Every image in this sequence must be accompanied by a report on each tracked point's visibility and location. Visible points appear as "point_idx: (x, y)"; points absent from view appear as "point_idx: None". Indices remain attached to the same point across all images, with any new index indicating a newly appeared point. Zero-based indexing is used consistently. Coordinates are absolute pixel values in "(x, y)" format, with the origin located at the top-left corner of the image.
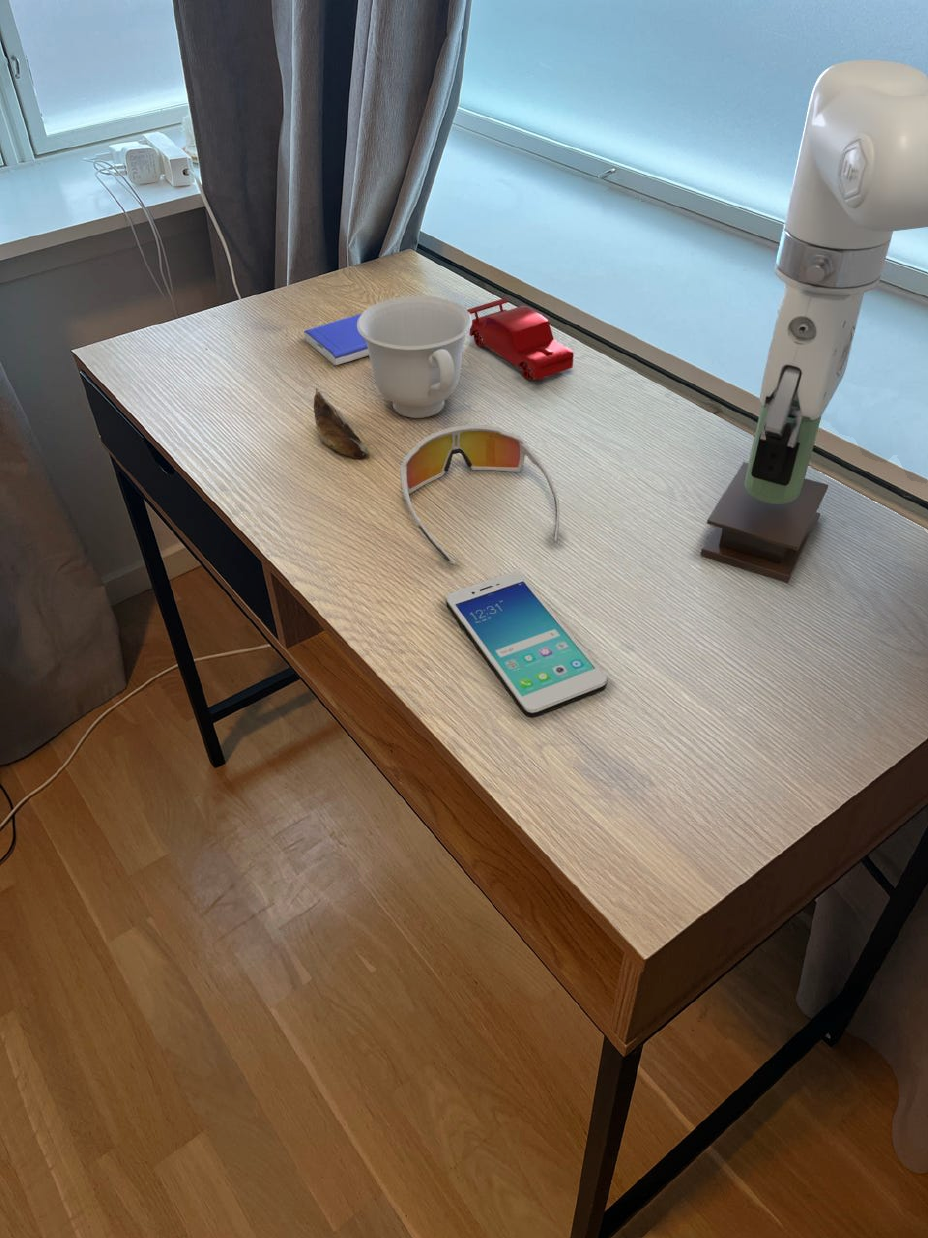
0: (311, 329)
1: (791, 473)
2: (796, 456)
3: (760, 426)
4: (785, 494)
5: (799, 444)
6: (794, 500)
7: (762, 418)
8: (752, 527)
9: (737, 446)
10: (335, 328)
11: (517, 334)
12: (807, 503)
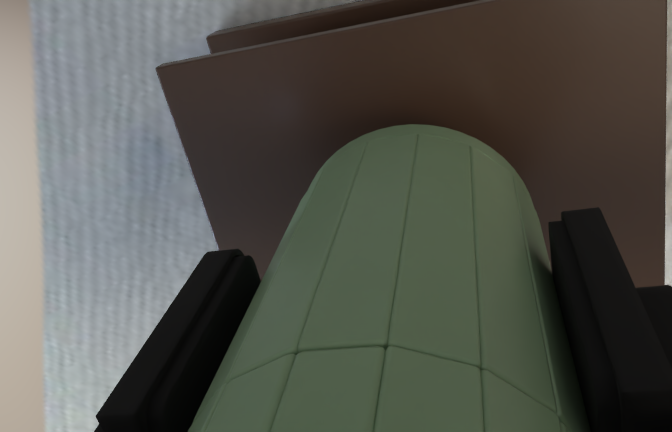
0: None
1: (607, 241)
2: (605, 311)
3: None
4: (507, 175)
5: (633, 385)
6: (345, 129)
7: None
8: (623, 182)
9: (91, 350)
10: None
11: None
12: (328, 80)
